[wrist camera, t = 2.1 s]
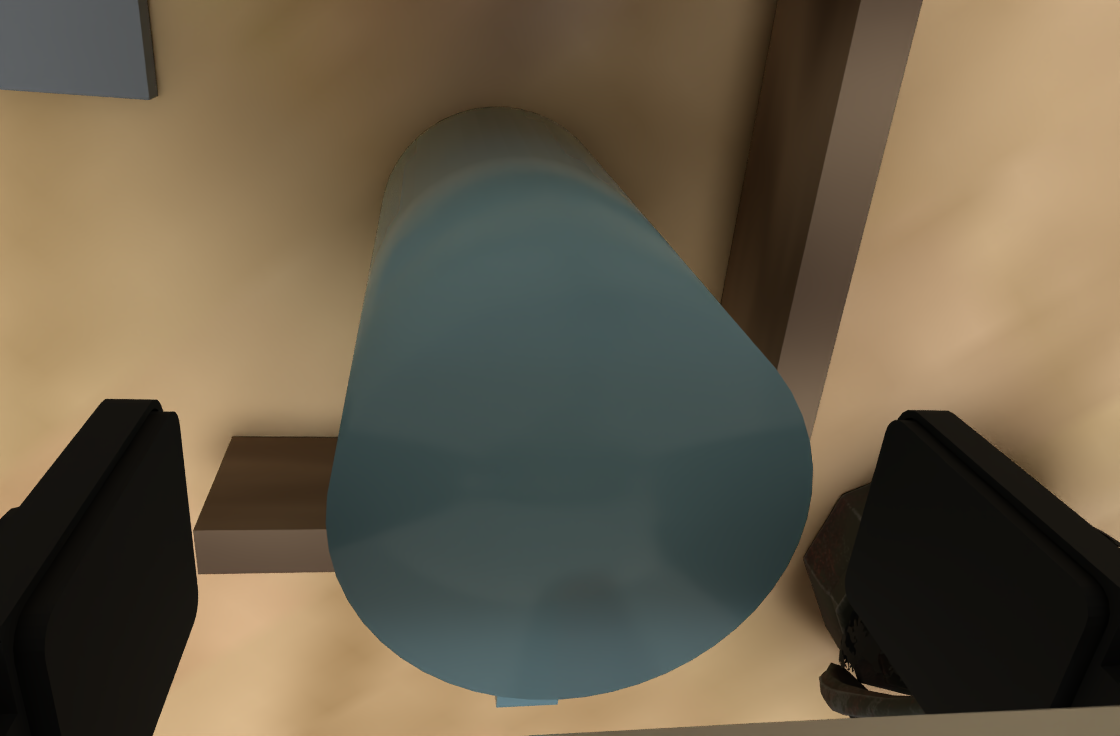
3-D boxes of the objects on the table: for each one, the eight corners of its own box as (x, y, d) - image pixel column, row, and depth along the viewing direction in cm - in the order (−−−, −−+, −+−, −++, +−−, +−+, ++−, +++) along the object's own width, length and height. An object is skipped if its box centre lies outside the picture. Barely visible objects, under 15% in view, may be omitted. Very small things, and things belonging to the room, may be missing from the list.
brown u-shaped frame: (179, -154, 16) (107, -187, 12) (844, -76, 18) (943, -84, 15) (235, 475, 22) (198, 574, 19) (728, 476, 24) (778, 564, 21)
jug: (380, 97, 19) (316, 281, 8) (624, 115, 19) (864, 299, 9) (381, 408, 22) (337, 833, 11) (589, 411, 23) (731, 805, 12)
